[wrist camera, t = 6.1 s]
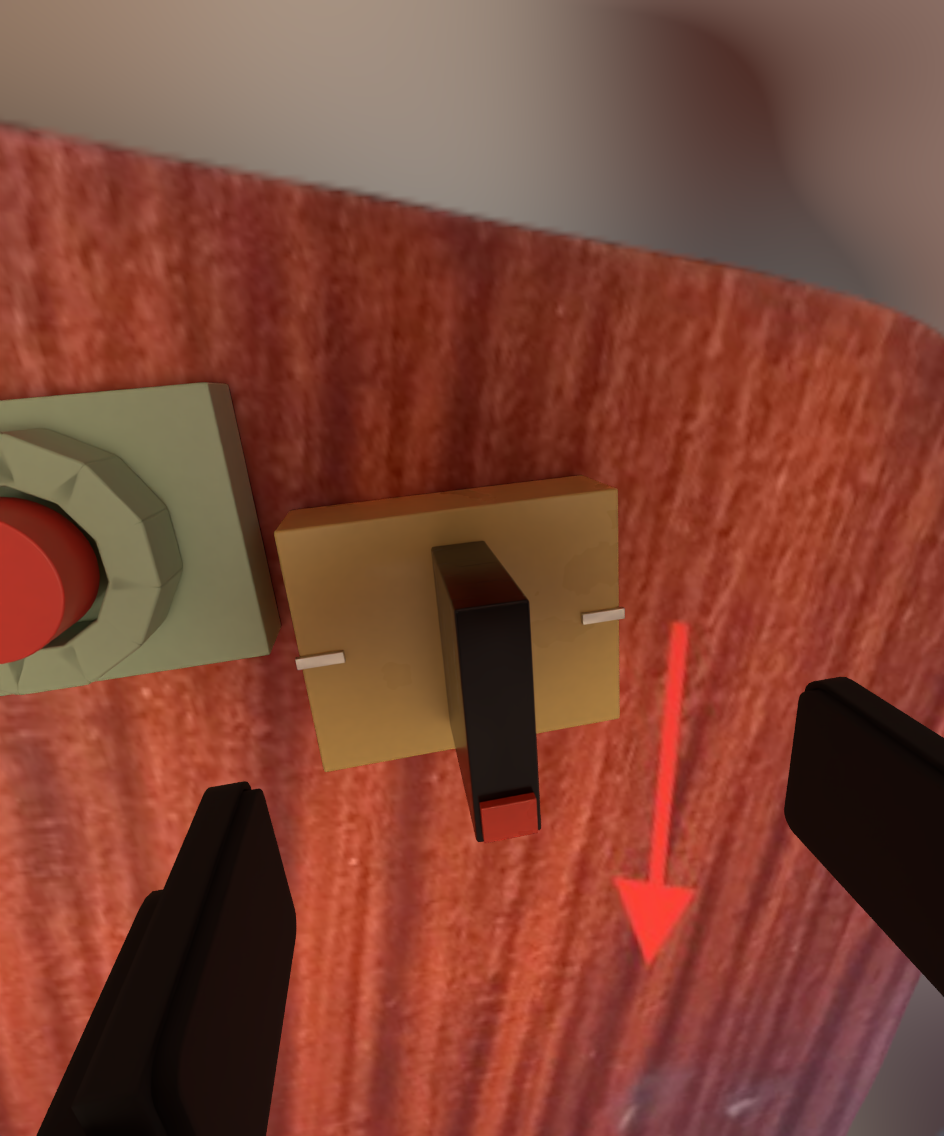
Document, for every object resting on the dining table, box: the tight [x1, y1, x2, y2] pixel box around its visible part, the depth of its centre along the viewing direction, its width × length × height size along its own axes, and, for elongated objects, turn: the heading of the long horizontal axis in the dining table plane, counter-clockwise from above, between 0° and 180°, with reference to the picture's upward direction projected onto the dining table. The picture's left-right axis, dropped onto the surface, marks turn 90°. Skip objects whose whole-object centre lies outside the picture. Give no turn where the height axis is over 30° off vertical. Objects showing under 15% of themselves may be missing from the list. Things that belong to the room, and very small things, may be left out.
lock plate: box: [274, 475, 625, 772], centre depth 18 cm, size 10×8×3 cm
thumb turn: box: [431, 541, 541, 843], centre depth 14 cm, size 6×2×5 cm, turn 5°
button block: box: [0, 382, 281, 696], centre depth 15 cm, size 10×8×4 cm
